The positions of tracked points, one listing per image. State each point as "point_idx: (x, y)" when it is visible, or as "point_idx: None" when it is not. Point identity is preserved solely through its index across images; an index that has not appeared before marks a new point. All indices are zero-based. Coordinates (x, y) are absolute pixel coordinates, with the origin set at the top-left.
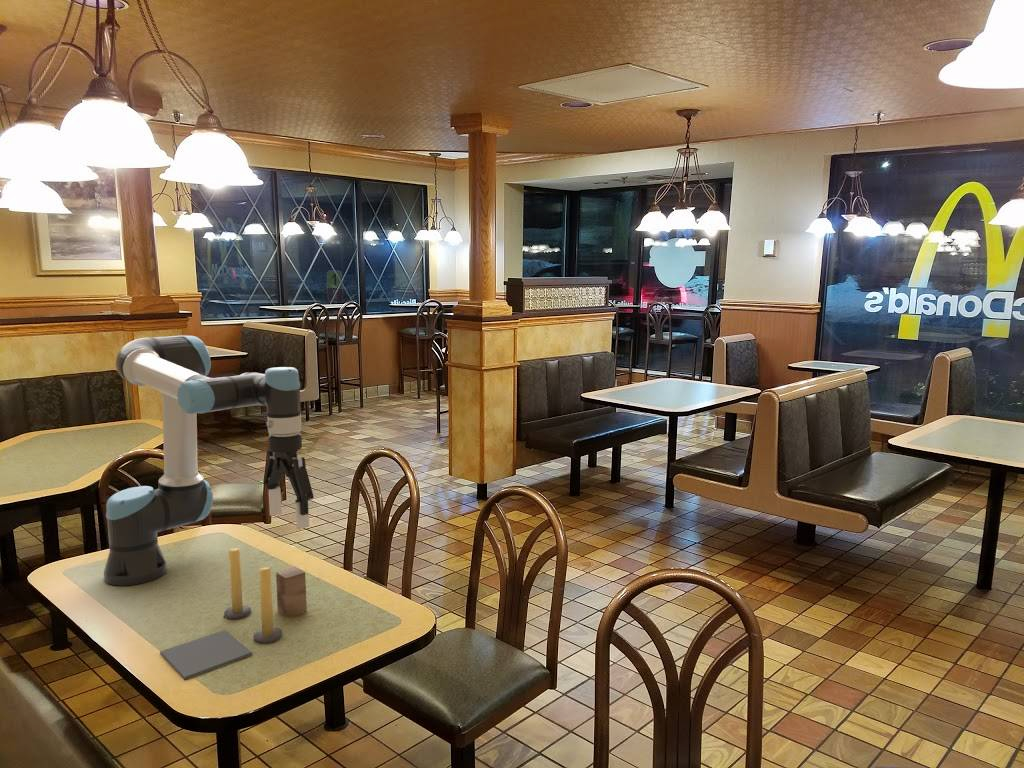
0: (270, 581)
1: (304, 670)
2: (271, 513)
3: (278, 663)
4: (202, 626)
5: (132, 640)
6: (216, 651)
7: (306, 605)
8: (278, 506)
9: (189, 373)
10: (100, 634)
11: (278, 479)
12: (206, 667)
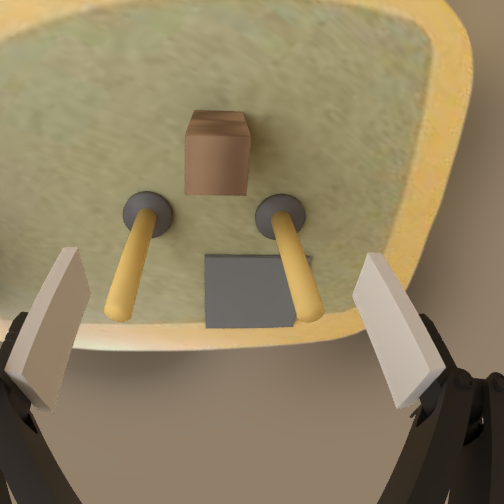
0: (315, 284)
1: (403, 228)
2: (86, 300)
3: (361, 242)
4: (158, 269)
5: (142, 332)
6: (265, 288)
7: (243, 115)
8: (67, 291)
9: None
10: (104, 345)
11: (45, 465)
12: (294, 307)
